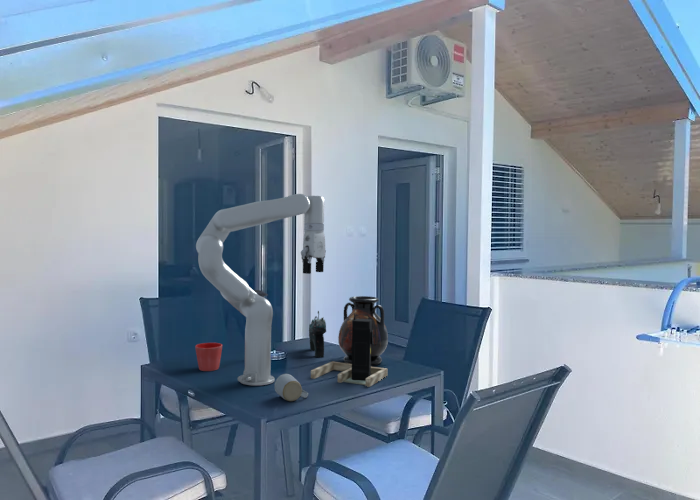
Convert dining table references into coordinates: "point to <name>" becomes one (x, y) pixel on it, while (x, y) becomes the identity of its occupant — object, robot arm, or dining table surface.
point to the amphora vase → (380, 336)
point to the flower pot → (208, 356)
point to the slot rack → (347, 375)
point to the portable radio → (361, 348)
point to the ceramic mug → (289, 388)
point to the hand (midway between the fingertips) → (313, 272)
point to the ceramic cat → (317, 336)
